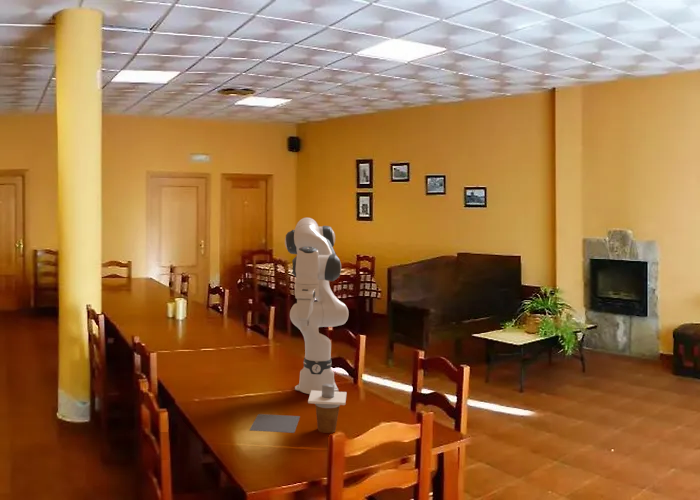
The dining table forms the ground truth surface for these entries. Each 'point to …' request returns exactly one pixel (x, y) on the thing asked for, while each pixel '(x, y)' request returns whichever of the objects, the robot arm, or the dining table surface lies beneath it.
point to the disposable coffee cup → (327, 417)
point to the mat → (275, 423)
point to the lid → (327, 396)
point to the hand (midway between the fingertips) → (305, 328)
